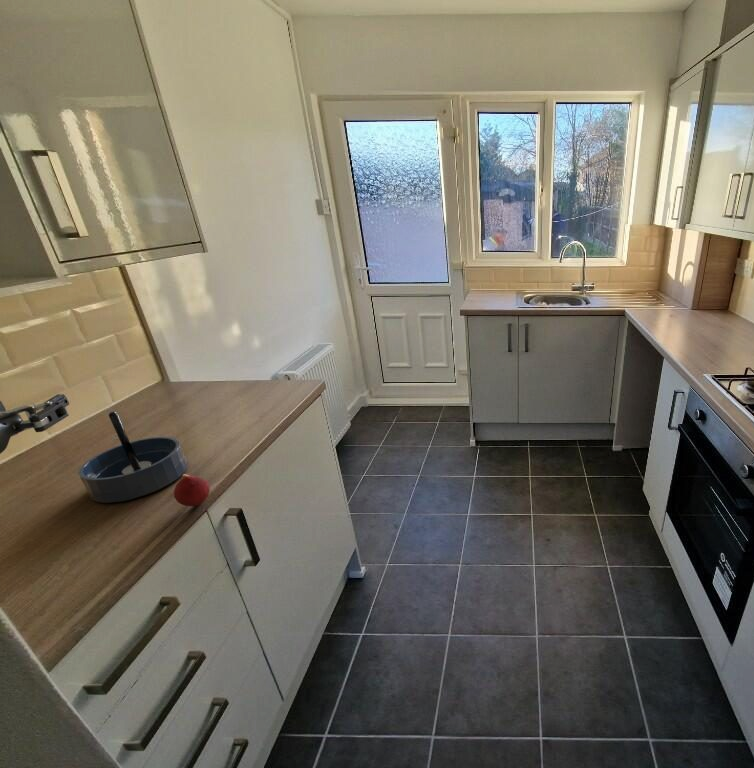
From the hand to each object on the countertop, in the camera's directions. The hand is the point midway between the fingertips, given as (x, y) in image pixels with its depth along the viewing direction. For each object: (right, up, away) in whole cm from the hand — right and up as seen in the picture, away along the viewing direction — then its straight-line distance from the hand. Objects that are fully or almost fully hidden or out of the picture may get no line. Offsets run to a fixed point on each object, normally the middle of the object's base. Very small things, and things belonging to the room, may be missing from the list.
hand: (32, 402), depth 71 cm
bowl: (-4, -19, +25) cm, 32 cm away
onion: (+15, -23, +17) cm, 32 cm away
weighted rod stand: (-4, -19, +25) cm, 32 cm away
